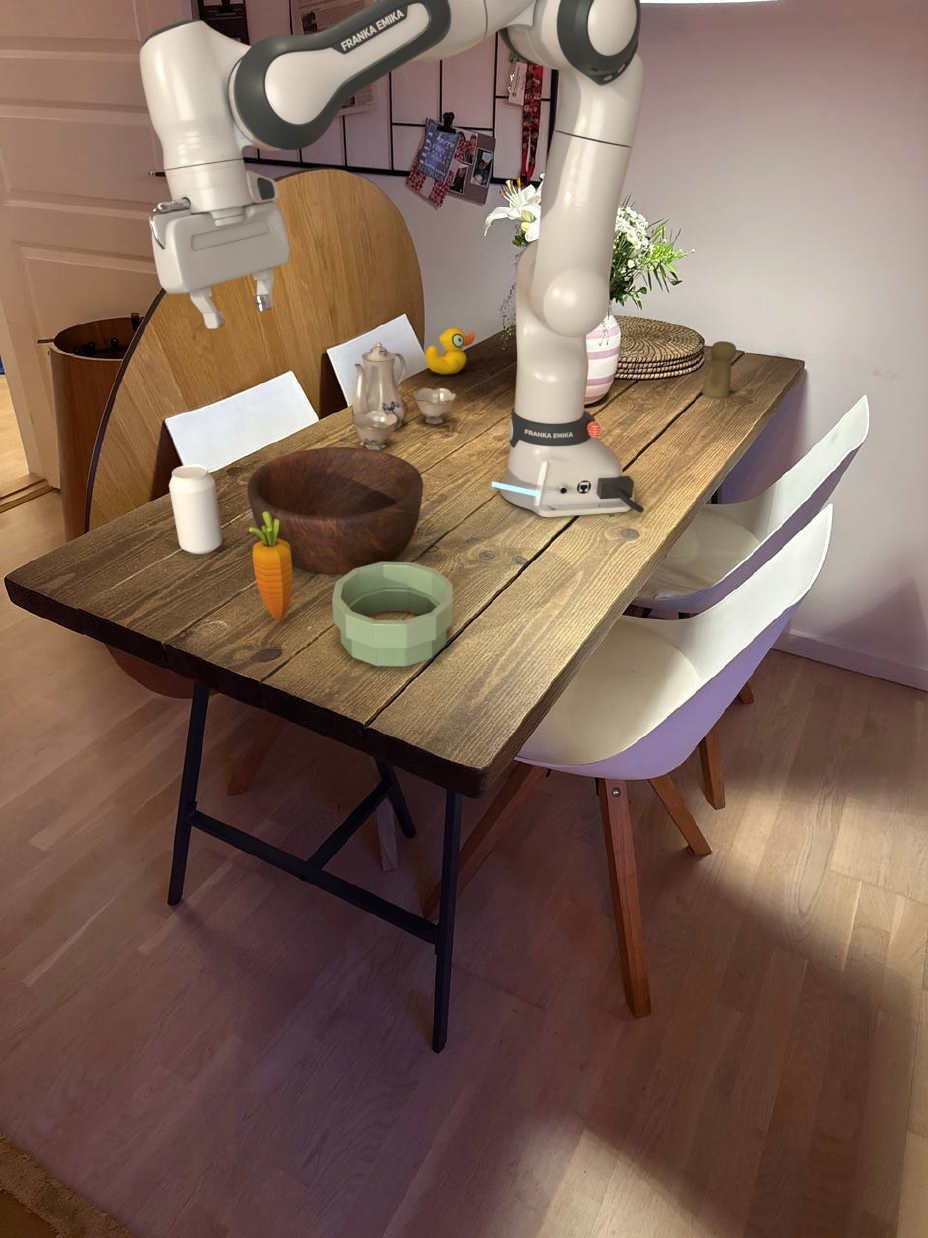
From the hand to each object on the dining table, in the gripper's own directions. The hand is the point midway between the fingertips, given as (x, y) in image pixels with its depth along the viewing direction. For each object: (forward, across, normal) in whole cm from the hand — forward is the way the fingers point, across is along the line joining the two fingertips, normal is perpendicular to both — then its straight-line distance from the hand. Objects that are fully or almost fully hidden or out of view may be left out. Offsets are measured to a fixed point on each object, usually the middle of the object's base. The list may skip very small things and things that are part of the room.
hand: (241, 318), depth 106 cm
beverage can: (+32, -1, +17) cm, 36 cm away
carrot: (+36, -12, -4) cm, 38 cm away
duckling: (+31, +89, +22) cm, 97 cm away
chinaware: (+32, +53, +16) cm, 64 cm away
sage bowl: (+38, -7, -19) cm, 43 cm away
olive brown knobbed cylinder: (+41, +108, -34) cm, 120 cm away
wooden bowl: (+35, +10, 0) cm, 36 cm away
